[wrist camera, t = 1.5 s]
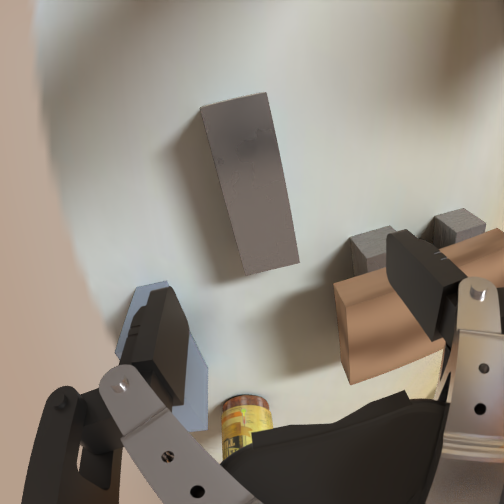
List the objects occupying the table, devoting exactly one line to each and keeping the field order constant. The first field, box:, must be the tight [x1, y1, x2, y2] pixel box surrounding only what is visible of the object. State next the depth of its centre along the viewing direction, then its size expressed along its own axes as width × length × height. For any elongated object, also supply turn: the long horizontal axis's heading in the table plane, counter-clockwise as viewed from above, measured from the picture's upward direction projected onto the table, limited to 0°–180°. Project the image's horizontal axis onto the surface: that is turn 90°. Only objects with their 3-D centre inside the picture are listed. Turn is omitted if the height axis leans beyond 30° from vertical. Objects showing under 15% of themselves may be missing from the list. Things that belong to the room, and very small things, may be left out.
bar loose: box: [200, 92, 300, 275], centre depth 21 cm, size 12×4×4 cm, turn 13°
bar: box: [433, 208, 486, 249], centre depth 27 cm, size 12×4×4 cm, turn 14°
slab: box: [333, 228, 504, 385], centre depth 24 cm, size 10×18×3 cm, turn 105°
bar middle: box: [350, 226, 397, 277], centre depth 27 cm, size 12×4×4 cm, turn 16°
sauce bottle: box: [221, 395, 273, 460], centre depth 28 cm, size 6×6×20 cm
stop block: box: [115, 281, 208, 432], centre depth 26 cm, size 12×3×8 cm, turn 13°
